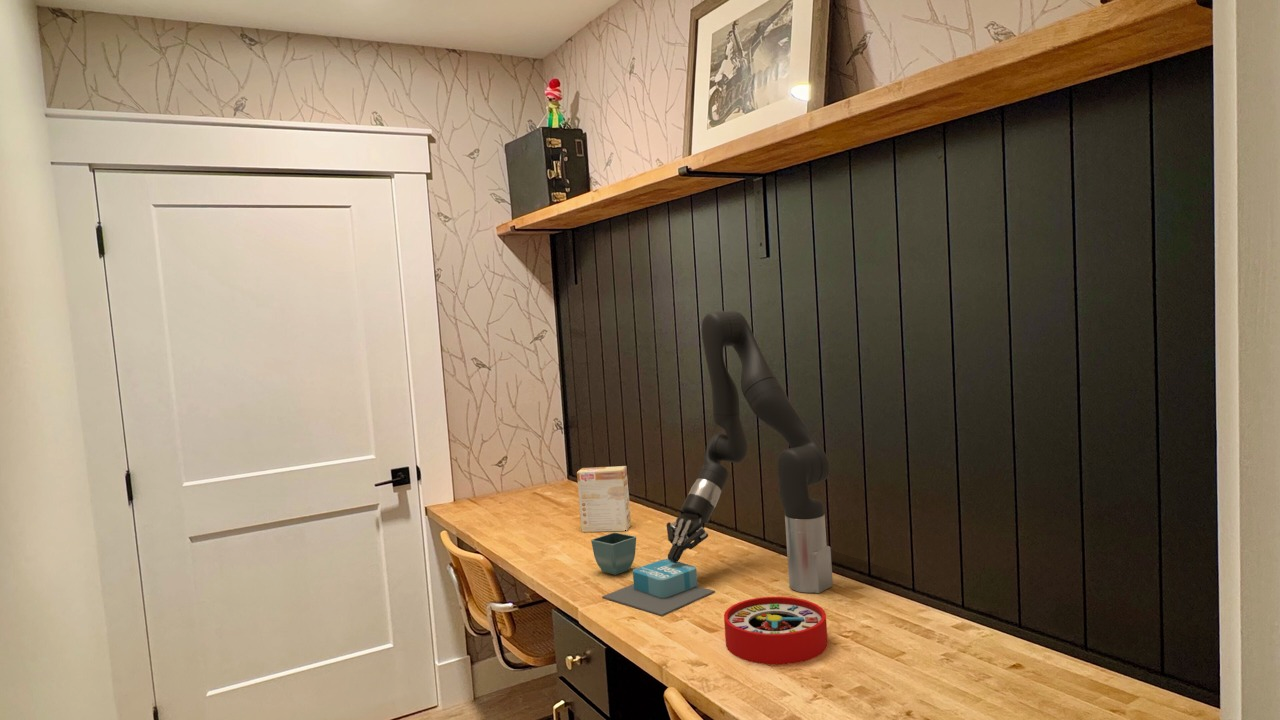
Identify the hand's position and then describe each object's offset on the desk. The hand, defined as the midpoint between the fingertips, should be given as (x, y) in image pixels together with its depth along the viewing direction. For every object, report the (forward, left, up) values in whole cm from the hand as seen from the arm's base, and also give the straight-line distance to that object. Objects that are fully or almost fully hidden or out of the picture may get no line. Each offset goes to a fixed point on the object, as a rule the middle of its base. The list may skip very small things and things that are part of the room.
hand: (671, 561), depth 193 cm
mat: (-1, +6, -6) cm, 9 cm away
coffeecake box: (+55, -27, -7) cm, 62 cm away
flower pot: (+21, 0, -7) cm, 22 cm away
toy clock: (-39, +12, -7) cm, 42 cm away
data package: (0, -4, -4) cm, 6 cm away
